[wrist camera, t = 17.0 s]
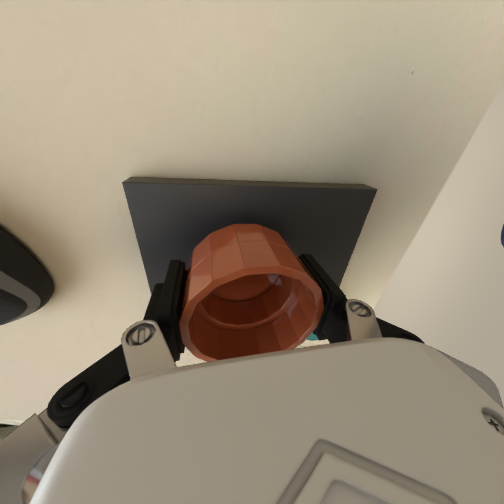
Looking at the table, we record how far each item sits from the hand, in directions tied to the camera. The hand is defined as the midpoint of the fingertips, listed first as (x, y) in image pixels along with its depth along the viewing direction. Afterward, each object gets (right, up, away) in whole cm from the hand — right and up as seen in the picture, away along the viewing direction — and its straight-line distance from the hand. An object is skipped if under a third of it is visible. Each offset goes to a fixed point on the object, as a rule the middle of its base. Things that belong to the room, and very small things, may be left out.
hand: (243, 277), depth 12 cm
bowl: (0, +1, +1) cm, 1 cm away
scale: (+1, 0, +5) cm, 5 cm away
